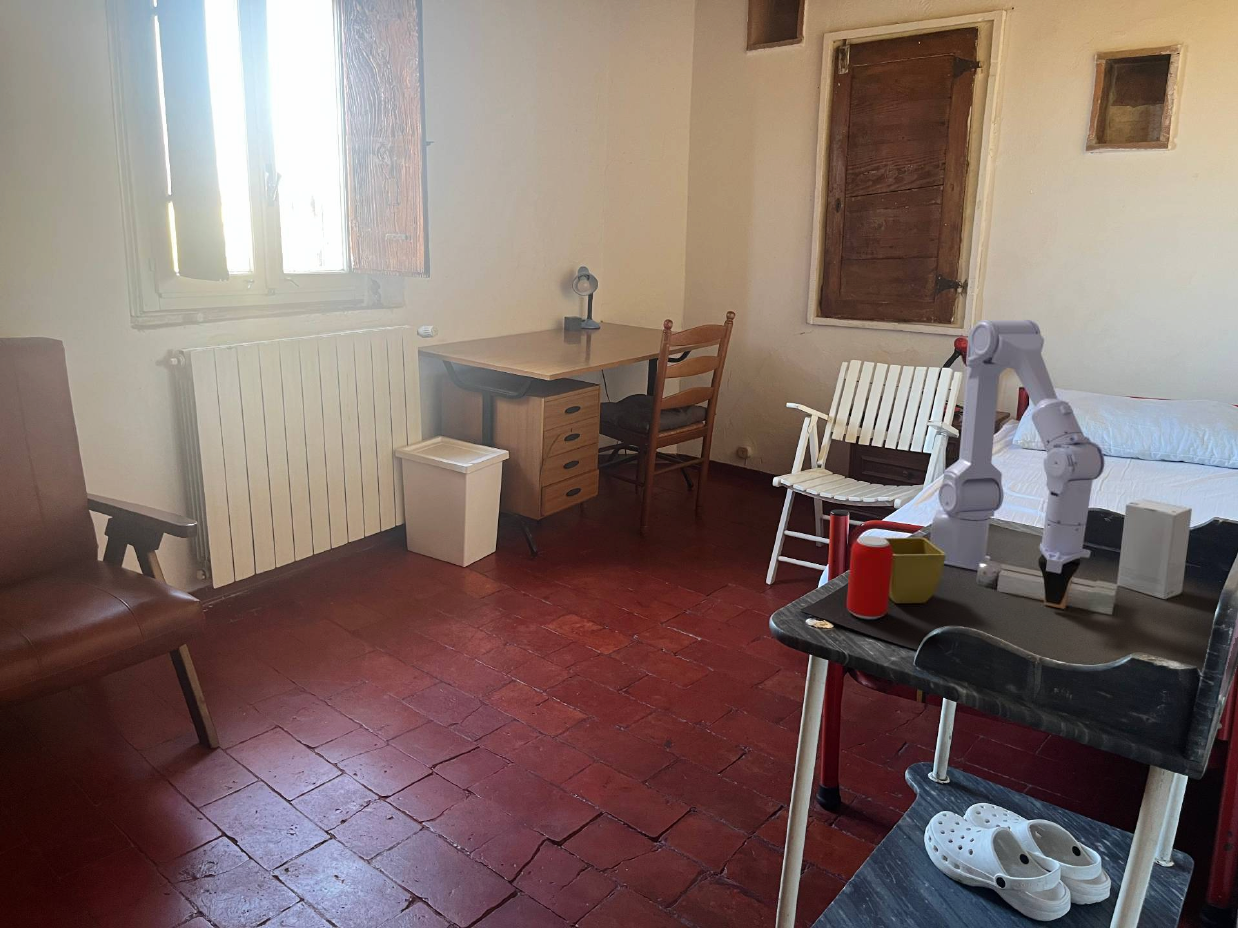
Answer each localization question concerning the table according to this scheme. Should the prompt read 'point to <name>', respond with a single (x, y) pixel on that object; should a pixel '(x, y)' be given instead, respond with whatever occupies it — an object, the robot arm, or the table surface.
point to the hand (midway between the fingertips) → (1053, 602)
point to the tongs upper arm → (991, 570)
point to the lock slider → (1062, 600)
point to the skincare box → (1154, 548)
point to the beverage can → (869, 577)
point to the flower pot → (914, 569)
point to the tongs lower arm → (1076, 597)
